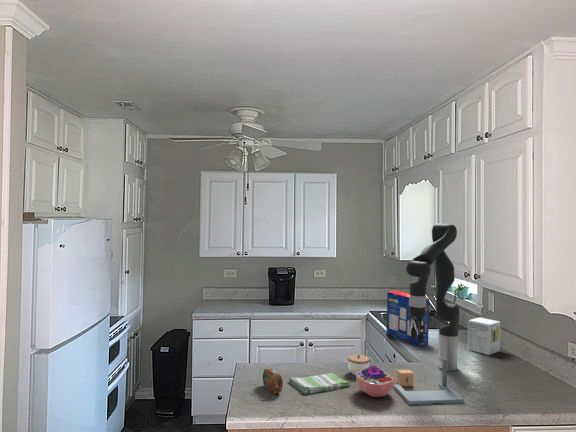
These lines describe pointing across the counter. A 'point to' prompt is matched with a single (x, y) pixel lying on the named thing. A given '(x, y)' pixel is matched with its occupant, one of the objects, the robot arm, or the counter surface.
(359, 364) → the lidded jar
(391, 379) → the cell model
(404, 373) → the tan wooden brick
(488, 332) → the supplement box
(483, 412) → the counter surface
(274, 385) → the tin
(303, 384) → the dish towel
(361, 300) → the counter surface
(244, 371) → the counter surface
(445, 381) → the screw clamp
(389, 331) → the blue cardboard box
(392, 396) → the counter surface
